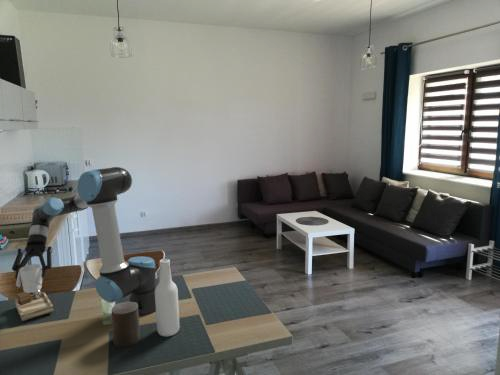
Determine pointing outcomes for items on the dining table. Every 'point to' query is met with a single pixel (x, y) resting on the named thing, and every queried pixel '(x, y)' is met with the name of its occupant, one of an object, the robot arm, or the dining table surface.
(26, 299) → the walnut block
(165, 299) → the alcohol
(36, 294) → the metal stub
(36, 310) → the wooden tray
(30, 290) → the white cup
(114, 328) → the pillar candle
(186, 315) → the dining table surface
